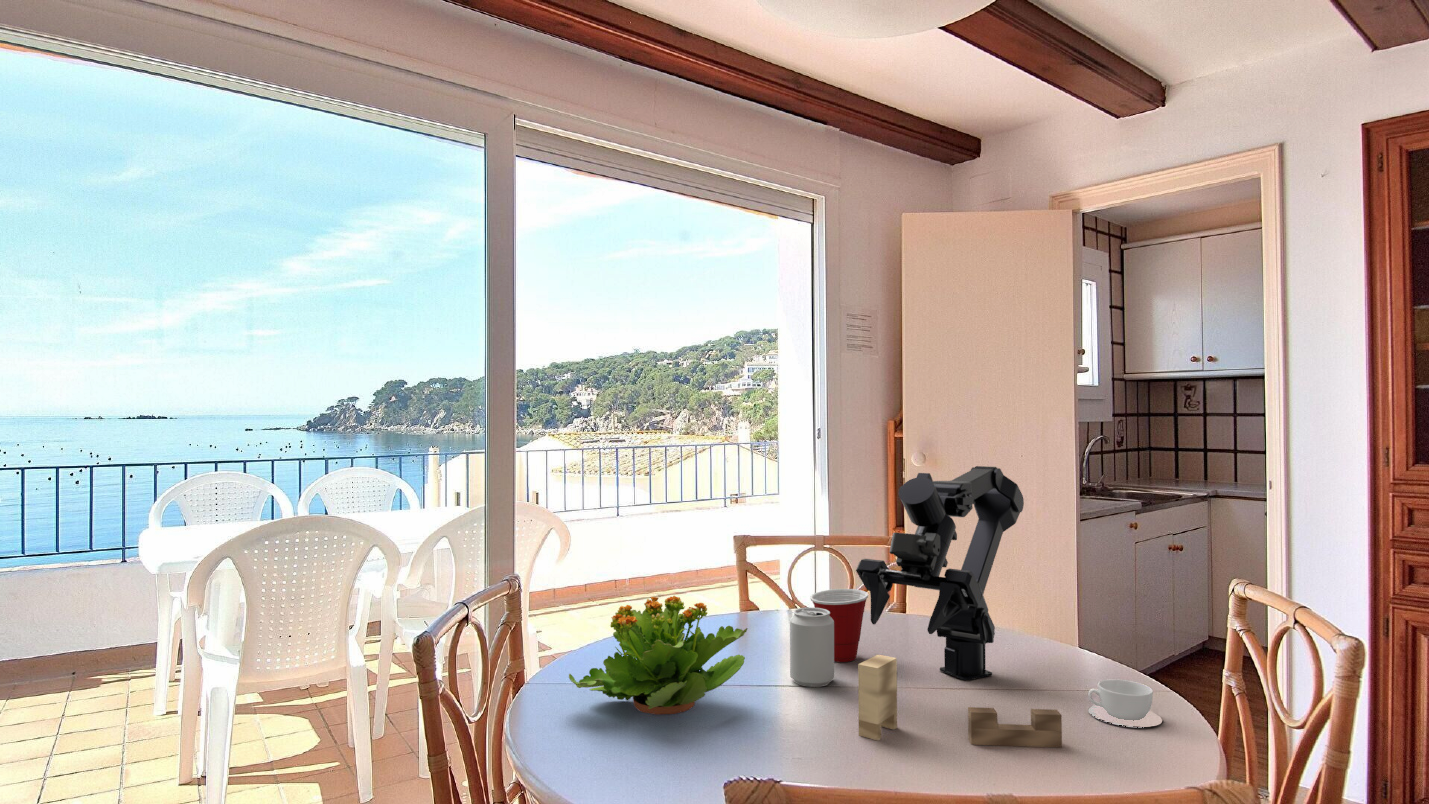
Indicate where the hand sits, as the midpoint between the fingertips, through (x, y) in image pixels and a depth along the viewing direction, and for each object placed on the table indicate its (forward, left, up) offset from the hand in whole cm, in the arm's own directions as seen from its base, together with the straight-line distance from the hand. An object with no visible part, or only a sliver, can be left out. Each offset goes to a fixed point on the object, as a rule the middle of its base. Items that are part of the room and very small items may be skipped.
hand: (900, 627), depth 124 cm
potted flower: (+29, -21, -13) cm, 38 cm away
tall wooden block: (+7, +3, -13) cm, 15 cm away
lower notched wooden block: (-7, +15, -13) cm, 21 cm away
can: (+3, -20, -13) cm, 24 cm away
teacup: (-29, +16, -14) cm, 36 cm away
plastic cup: (-9, -29, -13) cm, 33 cm away
